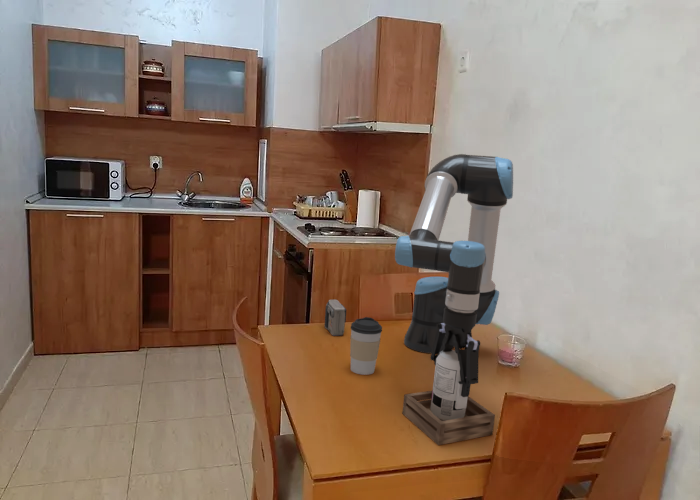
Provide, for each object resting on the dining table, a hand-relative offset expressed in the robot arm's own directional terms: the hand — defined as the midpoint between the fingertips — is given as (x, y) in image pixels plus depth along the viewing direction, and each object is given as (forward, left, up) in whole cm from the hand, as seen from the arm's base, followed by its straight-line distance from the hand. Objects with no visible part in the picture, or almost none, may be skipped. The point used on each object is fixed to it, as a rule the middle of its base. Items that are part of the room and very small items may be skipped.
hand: (449, 399), depth 134 cm
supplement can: (0, 0, -4) cm, 4 cm away
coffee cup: (+5, -34, -6) cm, 35 cm away
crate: (0, 0, -6) cm, 6 cm away
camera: (-1, -67, -7) cm, 68 cm away
